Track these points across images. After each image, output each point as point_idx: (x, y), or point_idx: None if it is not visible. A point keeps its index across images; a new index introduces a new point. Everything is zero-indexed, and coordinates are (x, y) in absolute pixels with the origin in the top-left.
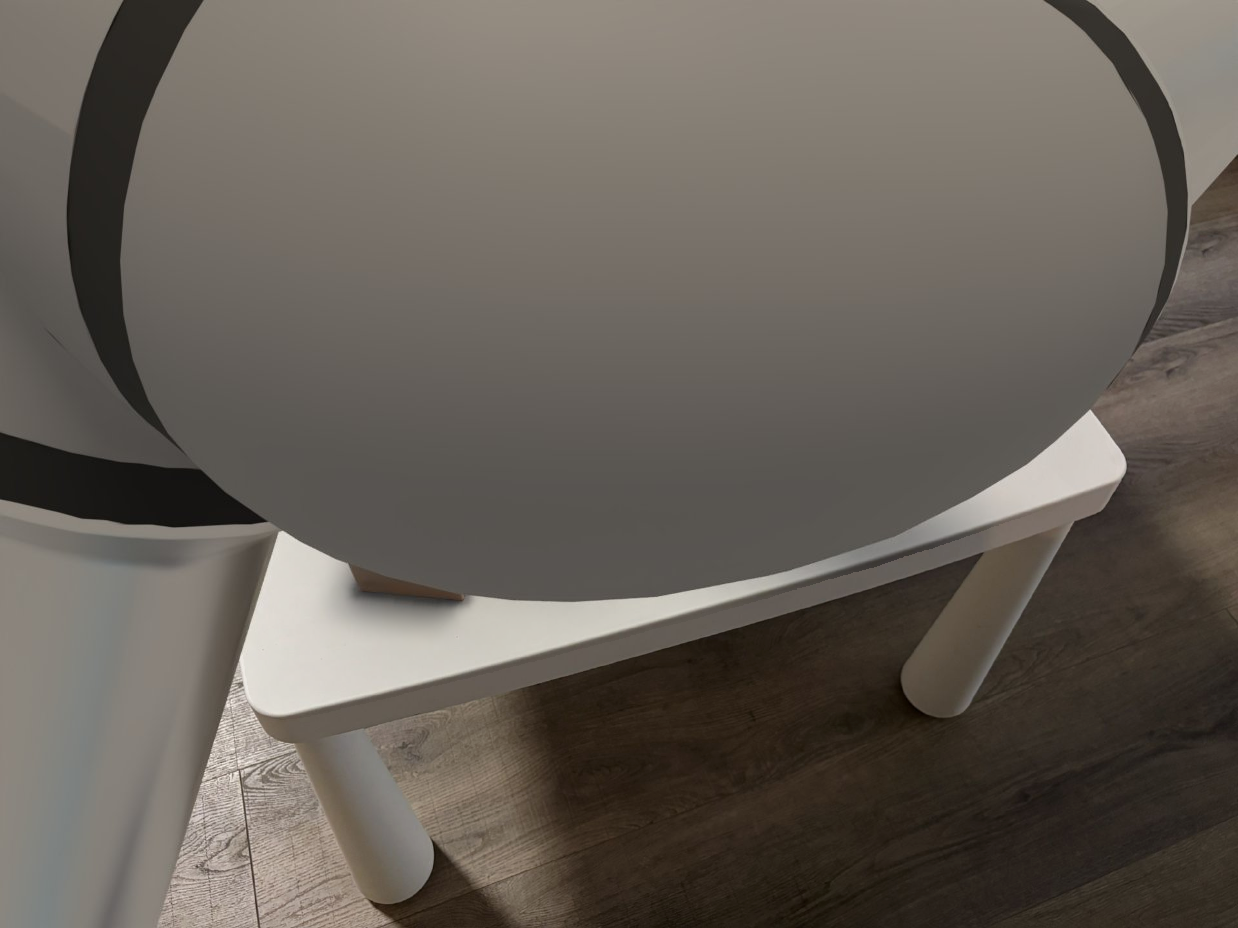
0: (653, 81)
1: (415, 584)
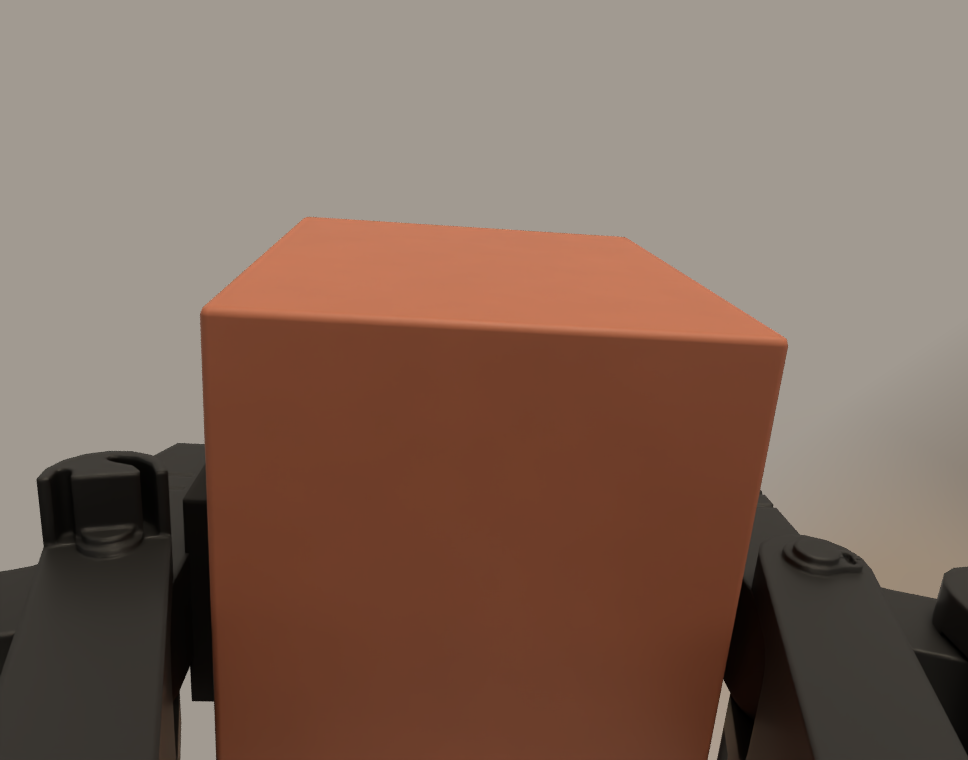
0: None
1: None
